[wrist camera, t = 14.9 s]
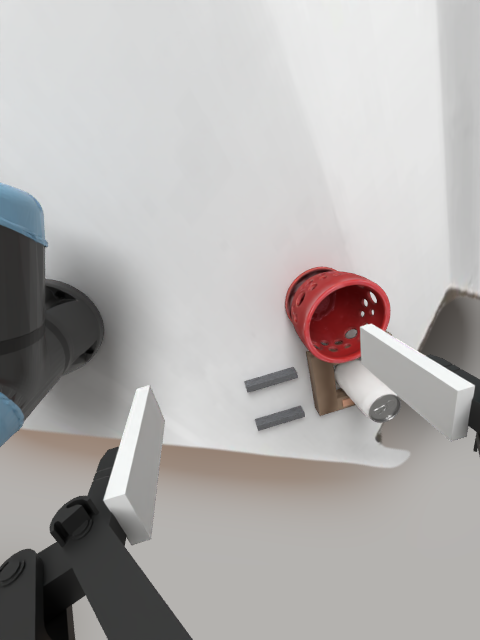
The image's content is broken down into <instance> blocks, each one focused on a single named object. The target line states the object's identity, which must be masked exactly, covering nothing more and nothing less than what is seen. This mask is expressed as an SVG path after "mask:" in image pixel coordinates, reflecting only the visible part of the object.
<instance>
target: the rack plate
mask: <svg viewBox="0 0 480 640" xmlns="http://www.w3.org/2000/svg"><path fill="white" fill-rule="evenodd" d="M385 332H386V333H388V334H390V333H389V332H387V331H385ZM390 335H391V336H392V334H390ZM335 344H336V345H340V344H342V342H339V343H335ZM349 347H350V346H346V347H345V348H349ZM318 349H319V348H318ZM329 350H330V351H332V352H335V351H336V350H334V349H329ZM306 354H307V360H308V366H309V373H310V379H311V385H312V391H313V398H314V404H315V408H316V410H317V412H318V413H319V415H320V416H321V415H324V414H328V413H331V412H334V411H337V410H341V409H344V408H347V407H350V406H354V405H356V404H355V403H354V402H353V401H352V400H351V399H350V397H349V396H348V395H347V394H346V393H345V391H344V390H343V389H342V388H341V389H337V390H336V384H335V376H334V367H333V366H334V365H337V364H341V363H328V362H325V361H322V360H320V359H318V358H316V357H315V356H314V355H313V354H312V353H311V352H310V351H308V352H306ZM359 358H361V357H359Z"/></svg>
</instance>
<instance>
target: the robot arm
mask: <svg viewBox="0 0 480 640" xmlns="http://www.w3.org/2000/svg"><path fill="white" fill-rule="evenodd" d="M45 247H48V243H47V241H46V240H45V230H44V214H43V210H42V207H41V205H40V204H39V202H38V201H37V200H36V199H35V198H34V197H33V196H32V195H30V194H29V193H27V192H25V191H22V190H20V189H17V188H14V187H12V186H9V185H6V184H3V183H0V447H1V446H2V445H3V444H4V443H5V442H6V441H7V440H8V439H9V438H10V437H11V436H12V435H13V434H14V433H16V432H17V431H19V429H20V428H21V427H22V426H23V425H22V424H23V423H24V421H25V420H26V418H27V417H28V416H29V415H30V414H31V412H32V411H33V410H34V409H35V408H36V406H37V405H38V404H39V403H40V401H41V400H42V399H43V398H44V397H45V395H46V394H47V393H48V392H49V391H50V389H51V388H52V387H53V386H54V385H55V383H56V382H57V381H58V380H59V378H60V377H61V376H63V375H65V374H67V373H70V372H72V371H74V370H76V369H78V368H80V367H82V366H83V365H84V364H86V363H87V362H88V361H89V360H90V359H91V358H92V357H93V356H94V354H95V353H96V352H97V350H98V349H99V347H100V345H101V343H102V340H103V334H104V327H103V321H102V318H101V315H100V313H99V311H98V309H97V308H96V306H95V305H94V303H93V302H92V301H91V300H90V299H89V298H88V297H87V296H86V295H85V294H83V293H82V292H81V291H79V290H78V289H76V288H74V287H72V286H70V285H68V284H65V283H63V282H59V281H55V280H49V279H45ZM360 343H361V364H362V365H363V366H364V367H365V368H367V369H368V370H369V371H370V372H371V373H372V374H373V375H375V376H376V377H377V378H378V379H379V380H380V381H382V382H383V383H384V384H385V385H386V386H387V387H388V388H390V389H391V390H392V391H393V392H394V393H395V394H397V395H398V396H399V397H400V398H401V399H402V400H403V401H405V402H406V403H407V404H408V405H409V406H410V407H412V408H413V409H414V410H415V411H416V412H417V413H419V414H420V415H421V416H422V417H423V418H424V419H425V420H426V421H428V422H429V423H430V424H431V425H432V426H433V427H435V428H436V429H437V430H438V431H439V432H440V433H441V434H443V435H444V436H445V437H446V438H447V439H448V440H450V441H454V440H458V439H461V438H464V437H466V436H467V432H468V426H470V427H471V428H472V429H474V430H475V431H476V432H477V433H476V439H475V445H474V451H475V452H477V448H478V451H479V455H480V379H478V378H476V377H474V376H473V375H471V374H469V373H467V372H465V371H464V370H461V369H460V368H458V367H457V366H455V365H452V364H451V363H450V362H448V361H446V360H444V359H443V358H440V357H437V356H433V355H427V356H425V355H423V354H421V353H420V352H418V351H416V350H415V349H413V348H411V347H410V346H408V345H406V344H405V343H403V342H401V341H400V340H398V339H396V338H395V337H393V336H391V335H390V334H388V333H386V332H385V331H383V330H381V329H380V328H378V327H376V326H375V325H373V324H368V325H364V326H361V327H360ZM164 424H165V420H164V418H163V415H162V413H161V410H160V408H159V406H158V403H157V401H156V398H155V396H154V394H153V391H152V389H151V386H150V385H148V386H145V387H141V388H138V389H137V390H136V393H135V396H134V400H133V403H132V406H131V410H130V413H129V416H128V420H127V423H126V426H125V430H124V433H123V436H122V440H121V443H120V446H119V447H116V448H113V449H109V450H108V451H107V452H106V453H105V455H104V456H103V457H102V459H101V460H100V463H99V466H98V468H97V473H96V474H95V476H94V479H93V480H94V481H93V482H92V485H91V488H90V490H89V493H88V496H79V497H76V498H74V499H72V500H70V501H69V502H67V503H66V504H64V505H63V506H62V508H61V509H60V510H58V512H57V513H56V515H55V516H54V518H53V519H52V522H51V524H50V533H51V535H52V536H53V537H54V538H55V539H56V541H57V542H56V543H54V544H52V545H51V546H49V547H48V548H46V549H44V550H43V551H41V552H39V553H38V554H37V553H36V552H35V551H34V550H31V549H25V550H21V551H19V552H18V553H16V554H14V555H13V556H11V557H10V558H9V559H8V560H6V561H5V562H4V563H3V564H2V566H1V567H0V640H75V634H74V623H73V613H72V604H74V603H75V602H76V601H78V600H79V599H81V598H82V597H84V596H85V595H86V596H87V599H88V601H89V602H90V604H91V606H92V608H93V610H94V612H95V614H96V616H97V618H98V620H99V622H100V624H101V626H102V628H103V630H104V632H105V634H106V636H107V638H108V640H193V639H192V638H191V637H190V635H189V634H188V633H187V631H186V630H185V628H184V627H183V626H182V624H181V623H180V622H179V620H178V619H177V618H176V616H175V615H174V613H173V612H172V611H171V610H170V608H169V607H168V605H167V604H166V603H165V601H164V600H163V598H162V597H161V596H160V594H159V593H158V592H157V590H156V589H155V588H154V586H153V585H152V583H151V582H150V581H149V579H148V578H147V577H146V575H145V574H144V572H143V571H142V570H141V568H140V567H139V566H138V565H137V563H136V562H135V560H134V559H133V558H132V556H131V555H130V553H129V552H128V551H127V549H126V548H125V547H124V546H125V541H126V537H127V539H128V540H129V542H130V543H131V545H134V544H137V543H140V542H143V541H146V540H150V539H151V534H152V526H153V517H154V508H155V500H156V492H157V483H158V475H159V466H160V458H161V449H162V441H163V432H164Z"/></svg>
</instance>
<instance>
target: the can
mask: <svg viewBox="0 0 480 640" xmlns="http://www.w3.org/2000/svg"><path fill="white" fill-rule="evenodd" d="M334 376H335V381H336V382H337V383H338V384H339V386H340V387H341V388H342V389H343V390H344V391H345V393H346V394H347V395H348V396H349V397H350V399H351V400H352V401H353V402H354V403H355V404H356V406H357V407H358V408H359V409H360V410H361V411H362V412H363V414H364V415H366V416H367V417H369V418H371V419H372V420H373V421H375V422H378V423H382V422H386V421H389V420H391V419H392V418H394V417H395V416H396V415H397V414H398V412H399V410H400V408H401V400H400V399H399V397H397V394H395V393H394V392H393V391H392V390H391V389H390V388H388V387H387V386H386V385H385V384H384V383H383V382H382V381H380V380H379V379H378V378H377V377H376V376H375V375H373V374H372V373H371V372H370V371H369V370H368V369H367V368H365V367H364V366H363V365H362V364H361V361H360V360H359V359H355V360H352V361H349V362H345V363H341V364H337V366H336V367H335V370H334Z"/></svg>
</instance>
